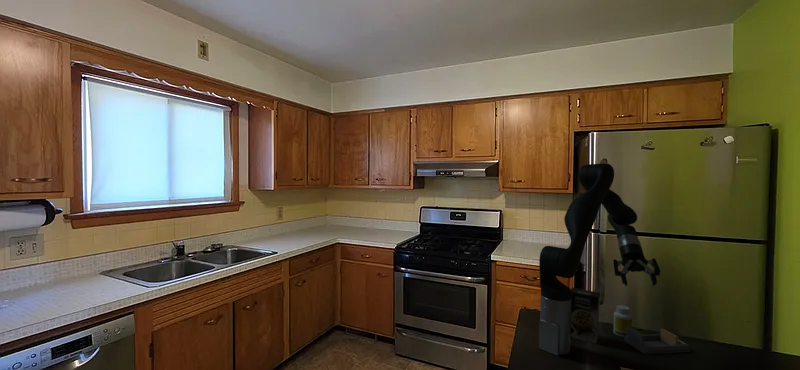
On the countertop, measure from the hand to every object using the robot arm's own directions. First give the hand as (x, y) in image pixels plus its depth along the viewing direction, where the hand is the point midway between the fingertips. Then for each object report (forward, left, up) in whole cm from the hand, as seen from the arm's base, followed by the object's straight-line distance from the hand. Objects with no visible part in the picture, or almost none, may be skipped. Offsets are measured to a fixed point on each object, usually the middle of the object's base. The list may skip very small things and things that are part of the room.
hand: (640, 284), depth 127 cm
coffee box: (-21, +11, -17) cm, 29 cm away
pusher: (-5, -10, -16) cm, 20 cm away
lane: (-8, -8, -17) cm, 20 cm away
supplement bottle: (-8, +3, -17) cm, 19 cm away
